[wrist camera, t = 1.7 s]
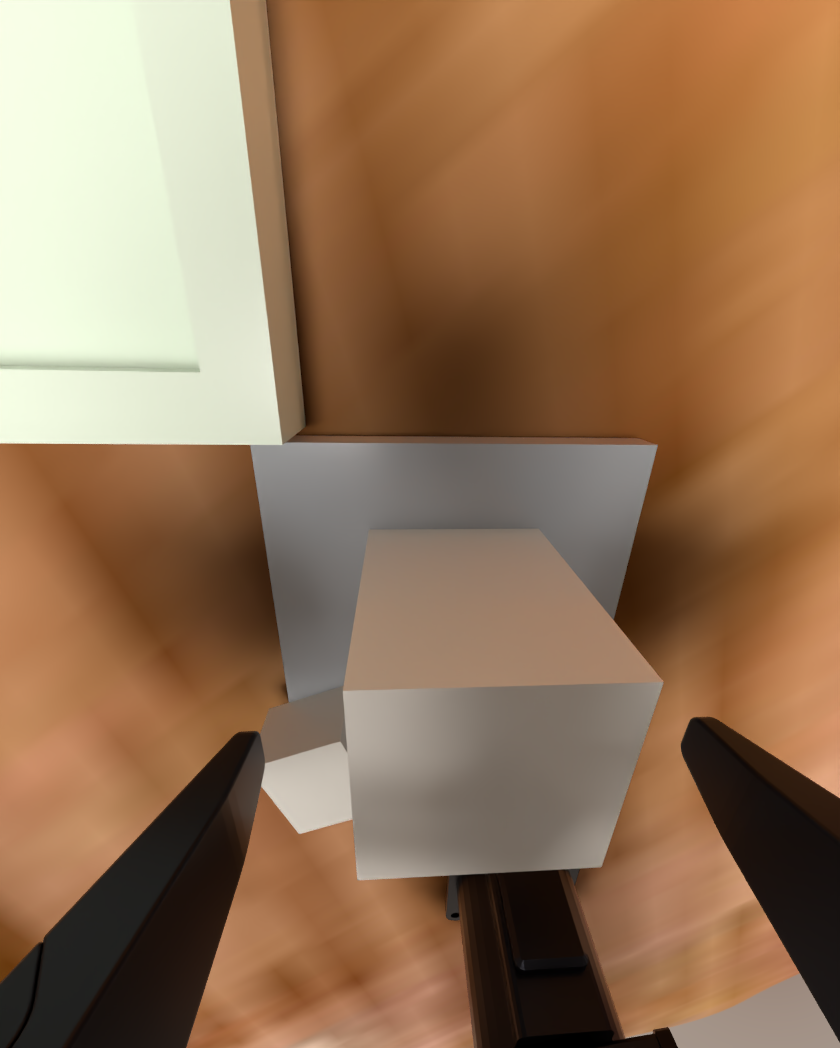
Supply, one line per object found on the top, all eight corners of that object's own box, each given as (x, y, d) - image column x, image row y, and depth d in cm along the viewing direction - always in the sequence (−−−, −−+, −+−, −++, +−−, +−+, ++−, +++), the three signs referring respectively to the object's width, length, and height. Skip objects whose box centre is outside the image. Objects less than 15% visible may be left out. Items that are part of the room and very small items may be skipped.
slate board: (576, 738, 17) (614, 819, 14) (287, 748, 16) (262, 836, 13) (649, 438, 12) (732, 465, 9) (236, 434, 11) (179, 463, 8)
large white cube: (519, 661, 14) (601, 867, 8) (373, 664, 13) (357, 880, 8) (538, 528, 12) (663, 681, 6) (368, 529, 11) (342, 691, 6)
